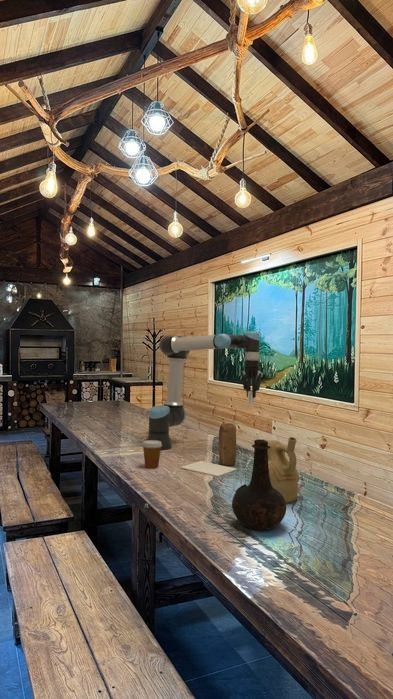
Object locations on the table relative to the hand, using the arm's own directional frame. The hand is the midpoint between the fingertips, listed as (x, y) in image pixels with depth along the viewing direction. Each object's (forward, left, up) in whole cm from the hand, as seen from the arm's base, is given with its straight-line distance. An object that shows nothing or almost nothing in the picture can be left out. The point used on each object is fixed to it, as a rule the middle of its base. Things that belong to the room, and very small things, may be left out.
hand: (251, 403), depth 244 cm
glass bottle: (+51, -82, -29) cm, 101 cm away
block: (0, -23, -29) cm, 37 cm away
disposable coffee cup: (-24, -52, -29) cm, 64 cm away
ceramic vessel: (+44, -53, -29) cm, 75 cm away
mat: (-1, -37, -28) cm, 47 cm away
